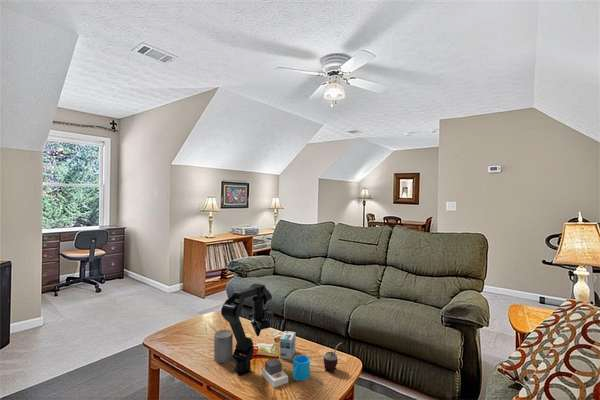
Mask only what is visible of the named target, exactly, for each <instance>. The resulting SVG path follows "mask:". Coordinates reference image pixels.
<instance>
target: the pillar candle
mask: <svg viewBox="0 0 600 400" xmlns="http://www.w3.org/2000/svg"><path fill="white" fill-rule="evenodd" d="M213 335H214V337H213V339H214V341H213V342H214V344H213V345H214V346H213V347H214V348H213V349H214V351H213V353H214V354H213V358H214V359H213V360H214V362H215V363H217V364H222V363H223V364H224V363H228V362H230V361H232V360H233V357H232V356H233V353H234V351H233V349H234V348H233V345H234V344H233V343H234V342H233V340H234V339H233V335H234V333H233V331H232V330H230V329H220V330H216V332H214V334H213Z"/></svg>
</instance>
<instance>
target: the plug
mask: <svg viewBox="0 0 600 400" xmlns="http://www.w3.org/2000/svg"><path fill="white" fill-rule="evenodd" d="M282 365H283V364H282V362H281V361H280V360H279V359H278V358H276V357H275V358H273V359H269V360H266V361H264V368H265V370H266V371H267V373H268V374H269V375H272V374H275V373H278V372H281V371H283V370H282Z"/></svg>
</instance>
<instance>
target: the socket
mask: <svg viewBox="0 0 600 400" xmlns="http://www.w3.org/2000/svg"><path fill="white" fill-rule="evenodd" d="M261 373H262V374H261V375H262V377H263V378H265V380H266V381H267V382H268V383H269V384H270V385H271V387H272V388H274V389H275V388H277V387H279V386H280V387H281V386H282V385H286V384H288V383H289V376H288V374H286V373H285V371H283V370H282V371H281V372H278V373H275V374H272V375H269V374H268V373H267V371H266V370H265V367H264V368H262V371H261Z"/></svg>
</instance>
